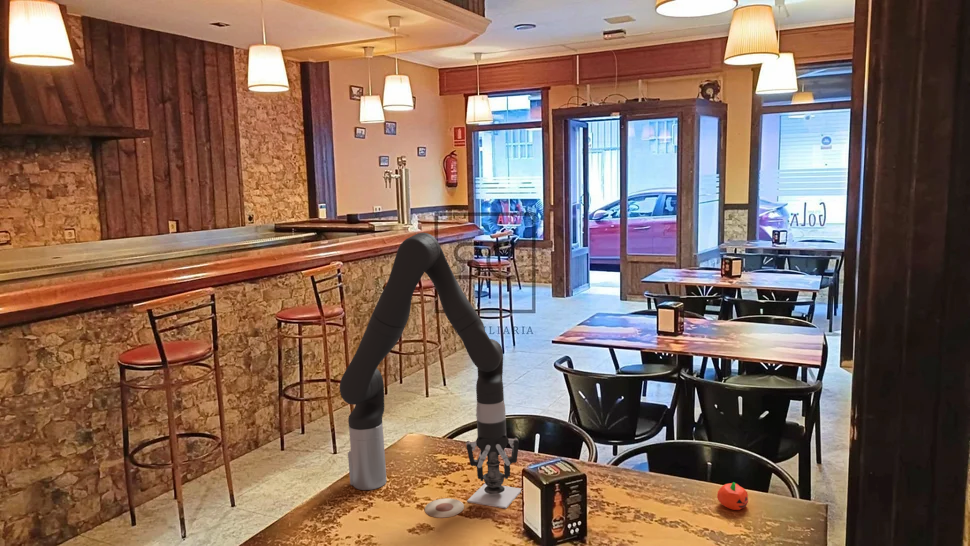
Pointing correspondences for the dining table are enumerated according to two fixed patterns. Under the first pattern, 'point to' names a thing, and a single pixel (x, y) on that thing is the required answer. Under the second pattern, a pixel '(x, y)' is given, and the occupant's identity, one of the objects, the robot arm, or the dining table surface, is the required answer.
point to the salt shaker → (493, 475)
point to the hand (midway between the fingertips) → (494, 478)
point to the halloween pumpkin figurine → (733, 496)
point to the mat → (495, 497)
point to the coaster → (444, 508)
